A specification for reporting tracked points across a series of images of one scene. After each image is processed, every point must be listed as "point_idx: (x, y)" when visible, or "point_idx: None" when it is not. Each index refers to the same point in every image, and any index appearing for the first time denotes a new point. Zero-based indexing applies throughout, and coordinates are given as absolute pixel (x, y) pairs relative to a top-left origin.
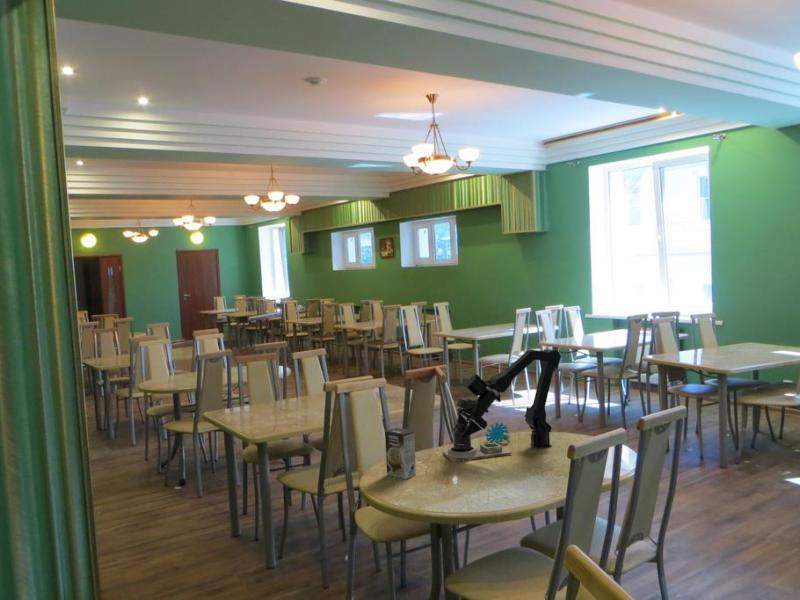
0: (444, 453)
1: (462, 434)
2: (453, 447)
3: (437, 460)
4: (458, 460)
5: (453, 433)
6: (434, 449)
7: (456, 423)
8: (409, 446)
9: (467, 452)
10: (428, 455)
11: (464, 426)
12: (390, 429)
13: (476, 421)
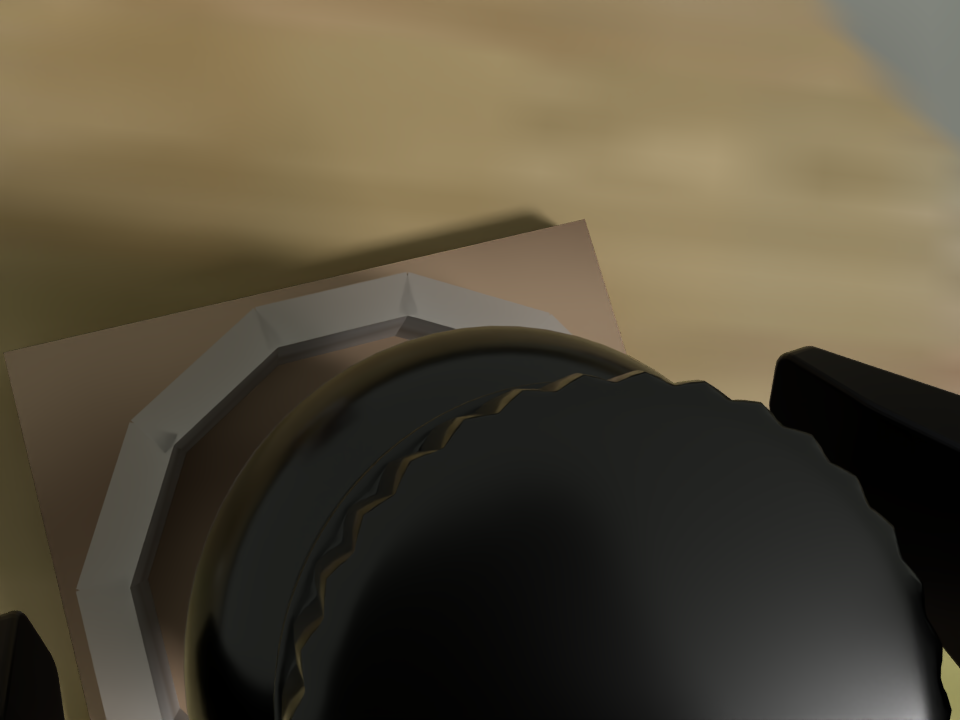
0: (499, 239)
1: (188, 654)
2: None
3: (222, 105)
4: (37, 468)
5: (448, 331)
6: (867, 133)
7: (641, 426)
8: None
9: (101, 690)
10: (549, 4)
11: None
12: None
13: None
